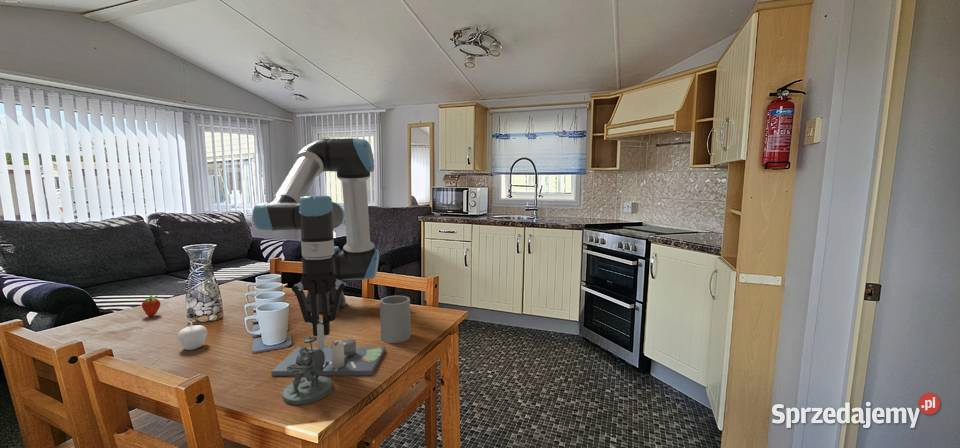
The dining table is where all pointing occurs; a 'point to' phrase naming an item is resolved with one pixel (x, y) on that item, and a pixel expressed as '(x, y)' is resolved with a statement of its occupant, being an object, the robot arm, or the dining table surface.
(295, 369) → the figurine
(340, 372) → the board
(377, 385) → the dining table surface
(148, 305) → the fruit
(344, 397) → the dining table surface
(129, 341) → the dining table surface
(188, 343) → the plain white apple
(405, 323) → the cup
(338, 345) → the grey and white piece
